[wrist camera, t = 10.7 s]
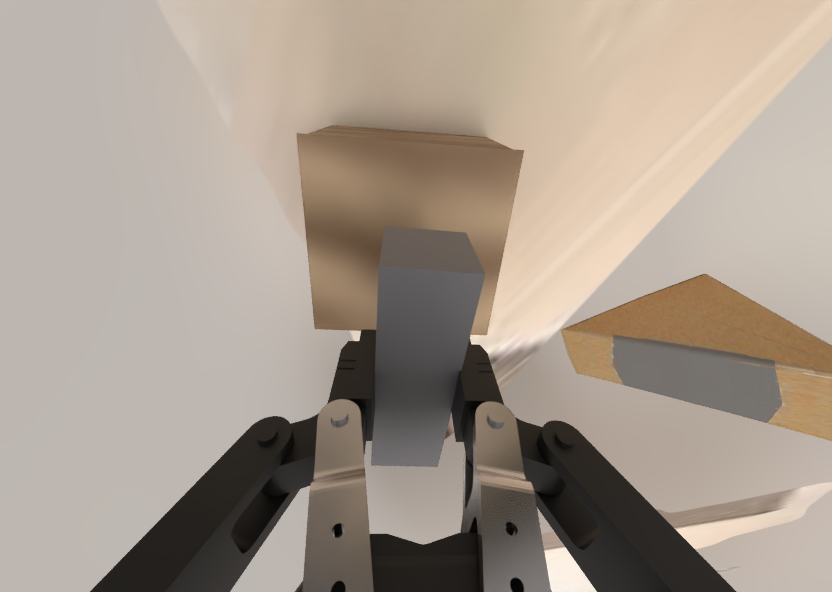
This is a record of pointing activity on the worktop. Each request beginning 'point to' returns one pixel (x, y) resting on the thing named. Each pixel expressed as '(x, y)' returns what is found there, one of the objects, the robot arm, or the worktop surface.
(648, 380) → the sandwich container
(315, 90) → the worktop surface
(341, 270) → the lid
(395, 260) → the gray rectangular block
